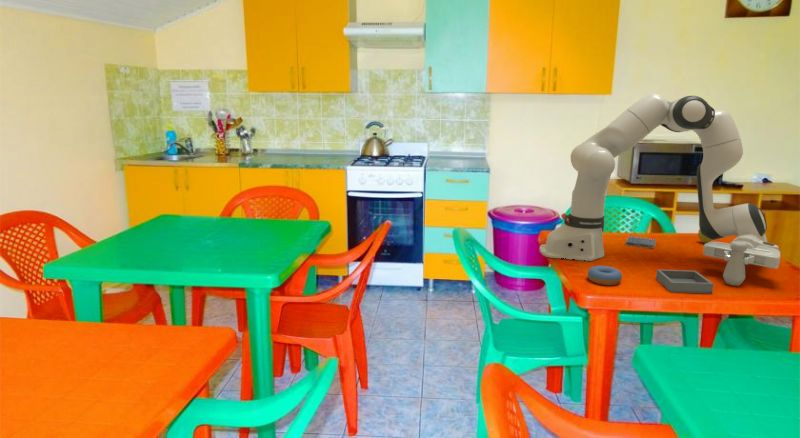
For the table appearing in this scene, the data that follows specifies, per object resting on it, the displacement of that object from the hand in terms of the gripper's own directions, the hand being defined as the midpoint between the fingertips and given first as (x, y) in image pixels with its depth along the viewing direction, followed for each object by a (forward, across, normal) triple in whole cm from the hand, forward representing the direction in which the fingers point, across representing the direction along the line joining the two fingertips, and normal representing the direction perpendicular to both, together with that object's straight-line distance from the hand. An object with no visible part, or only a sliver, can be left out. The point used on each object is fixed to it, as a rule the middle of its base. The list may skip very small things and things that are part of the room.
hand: (735, 260), depth 162 cm
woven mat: (-28, -36, +9) cm, 46 cm away
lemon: (-45, -17, +8) cm, 49 cm away
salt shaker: (-1, 0, +8) cm, 8 cm away
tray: (+11, -11, +8) cm, 17 cm away
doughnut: (+22, -30, +8) cm, 39 cm away
